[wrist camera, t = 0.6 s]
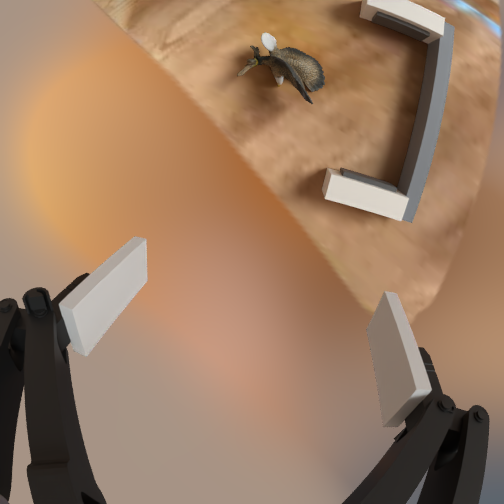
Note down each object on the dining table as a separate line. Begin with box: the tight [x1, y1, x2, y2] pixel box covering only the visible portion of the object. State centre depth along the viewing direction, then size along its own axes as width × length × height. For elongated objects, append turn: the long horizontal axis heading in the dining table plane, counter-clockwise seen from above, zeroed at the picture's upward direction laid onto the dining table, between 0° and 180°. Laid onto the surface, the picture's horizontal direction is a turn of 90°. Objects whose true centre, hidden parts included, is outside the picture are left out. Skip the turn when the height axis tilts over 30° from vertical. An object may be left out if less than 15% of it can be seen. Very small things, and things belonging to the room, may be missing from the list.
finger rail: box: [322, 0, 454, 223], centre depth 28 cm, size 28×12×5 cm, turn 169°
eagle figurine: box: [237, 33, 325, 104], centre depth 28 cm, size 8×7×9 cm
